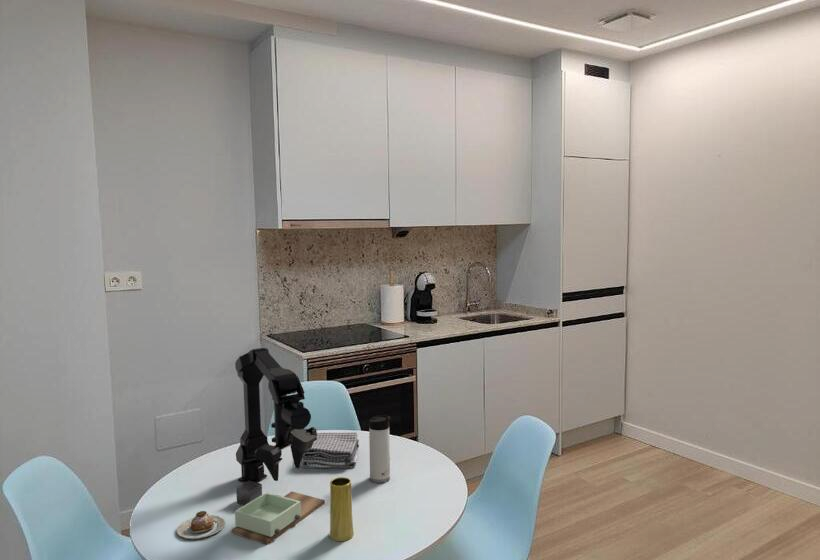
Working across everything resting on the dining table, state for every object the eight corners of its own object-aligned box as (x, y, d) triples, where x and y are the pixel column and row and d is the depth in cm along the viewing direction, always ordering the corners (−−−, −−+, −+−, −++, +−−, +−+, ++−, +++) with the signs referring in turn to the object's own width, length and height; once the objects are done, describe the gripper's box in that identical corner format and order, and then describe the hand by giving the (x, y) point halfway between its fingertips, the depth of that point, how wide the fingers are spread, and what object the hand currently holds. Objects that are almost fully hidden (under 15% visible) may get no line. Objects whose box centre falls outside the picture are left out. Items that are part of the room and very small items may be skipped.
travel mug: (388, 484, 177) (387, 420, 175) (367, 482, 178) (366, 419, 177) (393, 475, 183) (392, 414, 181) (372, 473, 184) (372, 412, 183)
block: (236, 504, 165) (236, 487, 165) (249, 496, 170) (248, 480, 169) (250, 507, 163) (249, 490, 163) (262, 500, 167) (261, 483, 167)
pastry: (224, 538, 148) (224, 521, 147) (174, 546, 144) (173, 528, 144) (225, 516, 159) (225, 500, 159) (179, 522, 156) (178, 506, 155)
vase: (330, 529, 151) (329, 476, 149) (353, 528, 151) (352, 475, 150) (329, 542, 145) (327, 487, 143) (353, 540, 145) (352, 486, 144)
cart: (233, 525, 151) (232, 510, 150) (264, 505, 161) (264, 491, 161) (273, 537, 145) (273, 522, 144) (303, 516, 155) (303, 502, 155)
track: (231, 532, 149) (231, 529, 149) (291, 494, 171) (291, 491, 170) (267, 544, 144) (267, 540, 144) (324, 503, 165) (324, 500, 165)
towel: (309, 451, 204) (309, 430, 203) (361, 452, 203) (361, 430, 202) (299, 470, 189) (299, 446, 188) (355, 470, 188) (355, 447, 187)
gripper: (285, 434, 145) (287, 494, 147) (329, 413, 162) (330, 467, 163) (252, 428, 151) (254, 485, 152) (298, 407, 167) (299, 460, 169)
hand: (286, 474), depth 159 cm, fingers open, 9 cm apart
